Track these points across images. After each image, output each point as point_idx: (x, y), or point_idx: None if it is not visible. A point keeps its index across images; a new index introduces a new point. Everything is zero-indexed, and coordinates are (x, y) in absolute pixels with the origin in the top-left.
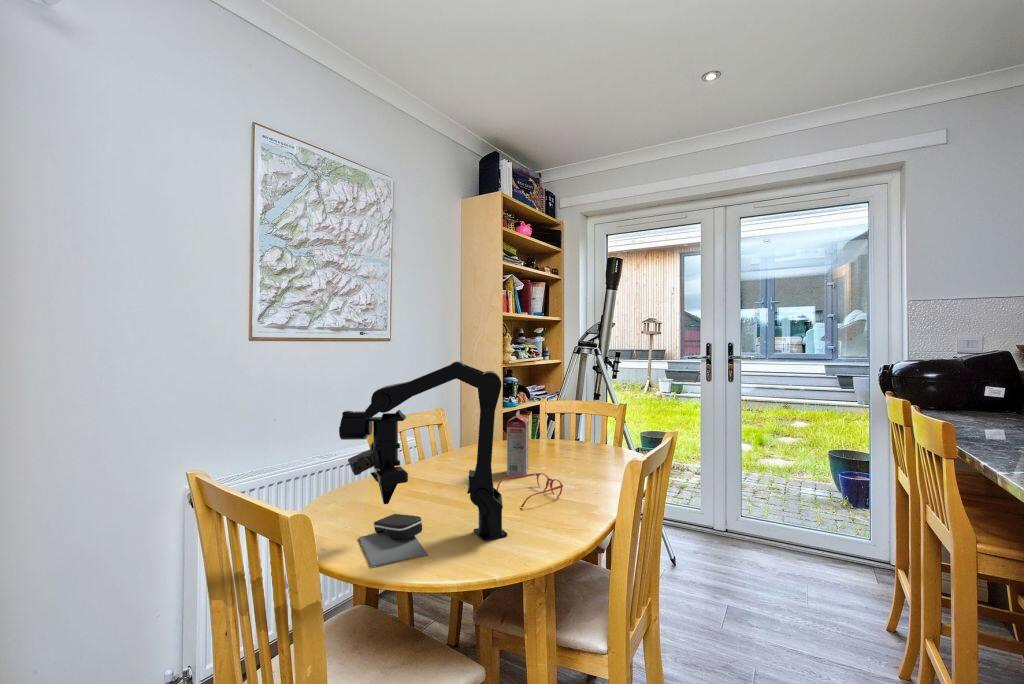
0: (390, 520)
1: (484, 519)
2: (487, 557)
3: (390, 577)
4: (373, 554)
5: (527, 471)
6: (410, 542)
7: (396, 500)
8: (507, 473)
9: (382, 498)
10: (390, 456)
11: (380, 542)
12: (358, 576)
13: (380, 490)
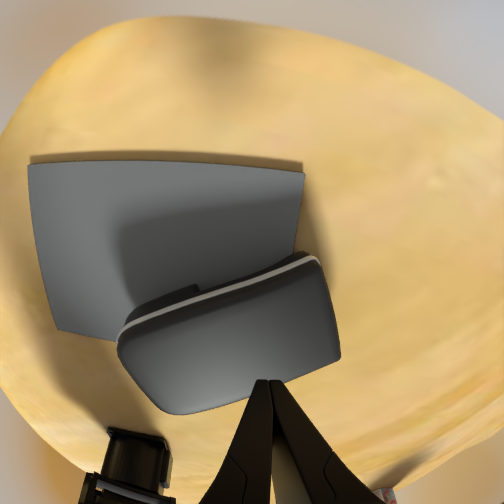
0: (253, 332)
1: (113, 466)
2: (43, 394)
3: None
4: (95, 185)
5: None
6: None
7: (474, 355)
8: (380, 491)
9: (279, 403)
10: None
11: (190, 238)
12: (9, 120)
13: (313, 448)
